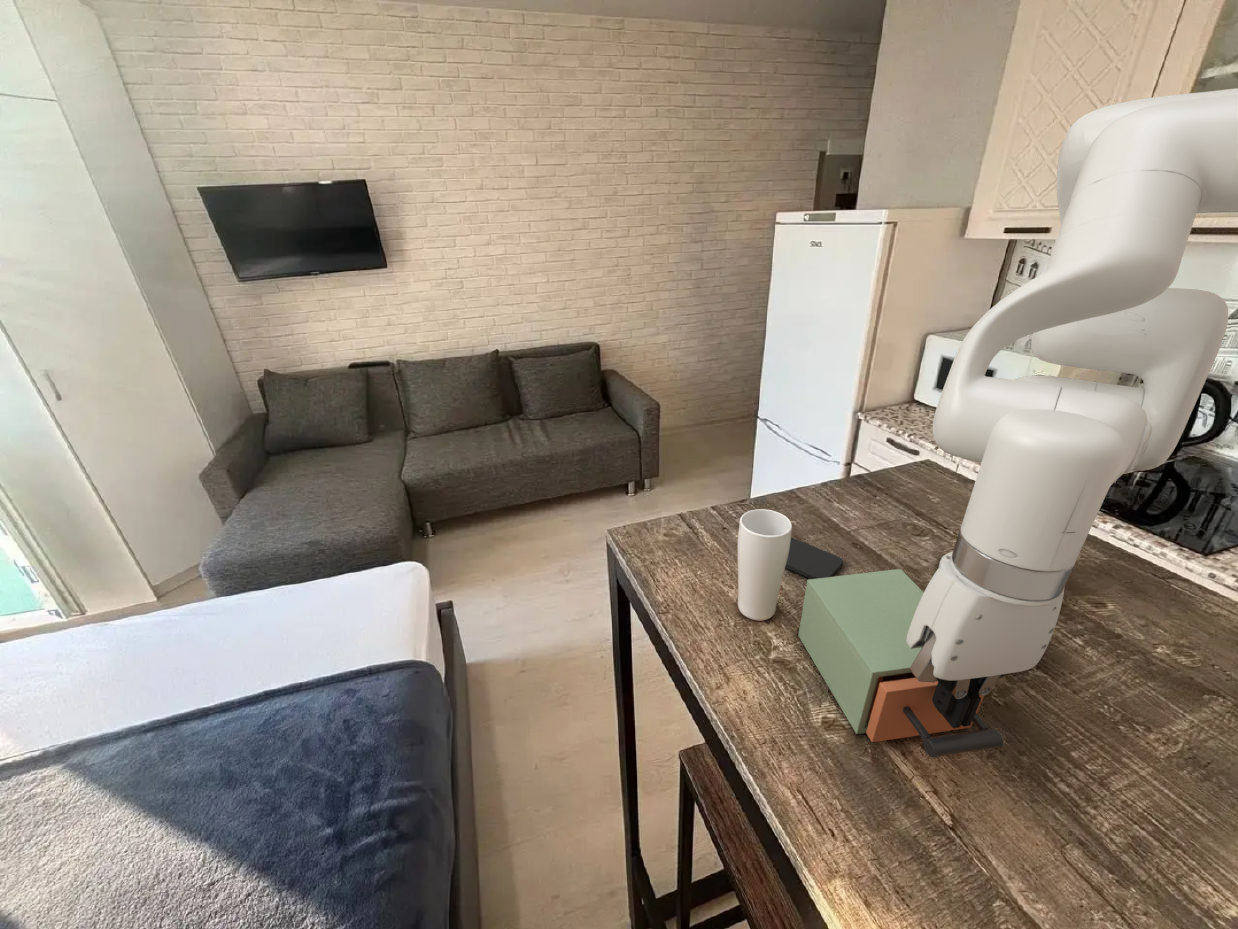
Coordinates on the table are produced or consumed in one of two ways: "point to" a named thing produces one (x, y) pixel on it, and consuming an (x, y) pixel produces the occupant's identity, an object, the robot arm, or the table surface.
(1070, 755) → the table surface
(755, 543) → the drinking glass
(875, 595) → the cabinet
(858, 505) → the table surface
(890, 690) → the bin drawer
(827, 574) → the phone
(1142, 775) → the table surface
